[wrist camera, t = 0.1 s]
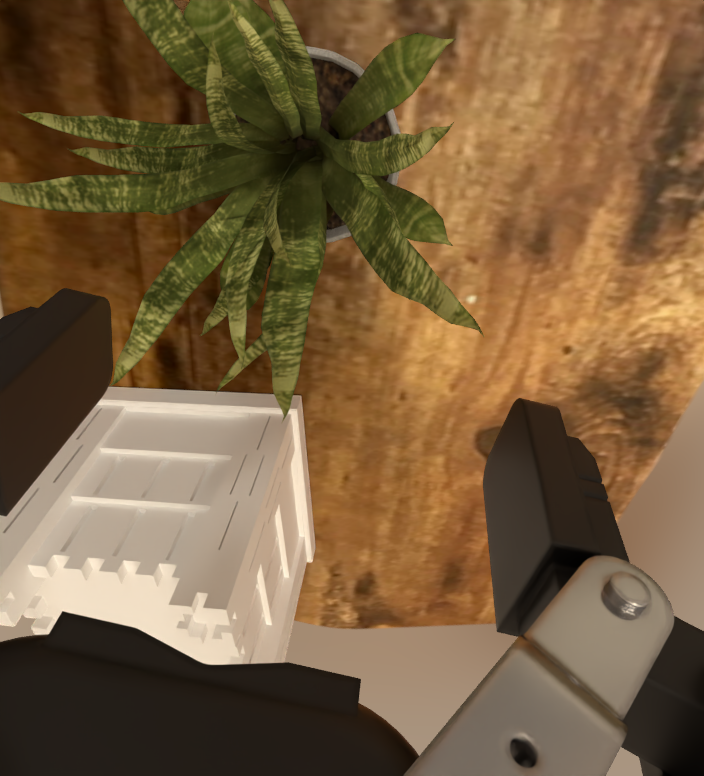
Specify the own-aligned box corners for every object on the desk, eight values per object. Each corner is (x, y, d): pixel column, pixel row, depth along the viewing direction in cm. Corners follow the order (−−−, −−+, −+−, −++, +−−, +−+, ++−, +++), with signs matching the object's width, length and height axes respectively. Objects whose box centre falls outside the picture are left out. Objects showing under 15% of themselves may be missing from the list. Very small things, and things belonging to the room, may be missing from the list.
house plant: (95, 25, 26) (-262, 71, 13) (368, -189, 21) (254, -481, 8) (268, 290, 33) (152, 504, 19) (509, 175, 28) (577, 355, 14)
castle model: (301, 395, 36) (233, 605, 24) (315, 547, 44) (270, 762, 32) (87, 385, 38) (-79, 577, 26) (138, 533, 46) (30, 734, 34)
